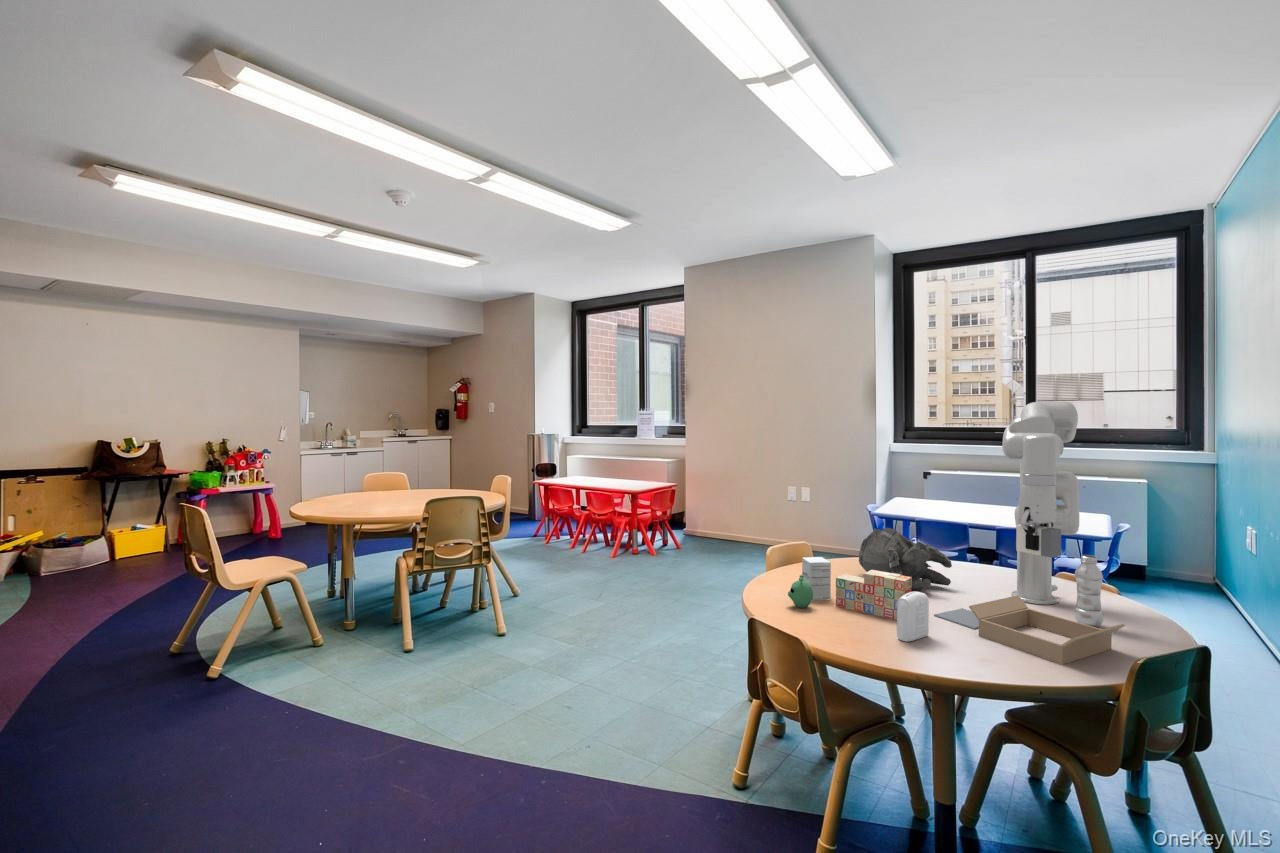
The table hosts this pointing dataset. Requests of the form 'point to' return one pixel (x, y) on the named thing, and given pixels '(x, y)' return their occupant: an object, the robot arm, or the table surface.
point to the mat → (960, 617)
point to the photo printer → (912, 616)
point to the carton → (1015, 613)
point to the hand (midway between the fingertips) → (1038, 547)
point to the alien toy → (801, 593)
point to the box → (1041, 541)
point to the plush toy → (902, 558)
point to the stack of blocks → (872, 592)
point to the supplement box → (817, 576)
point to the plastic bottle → (1088, 592)
